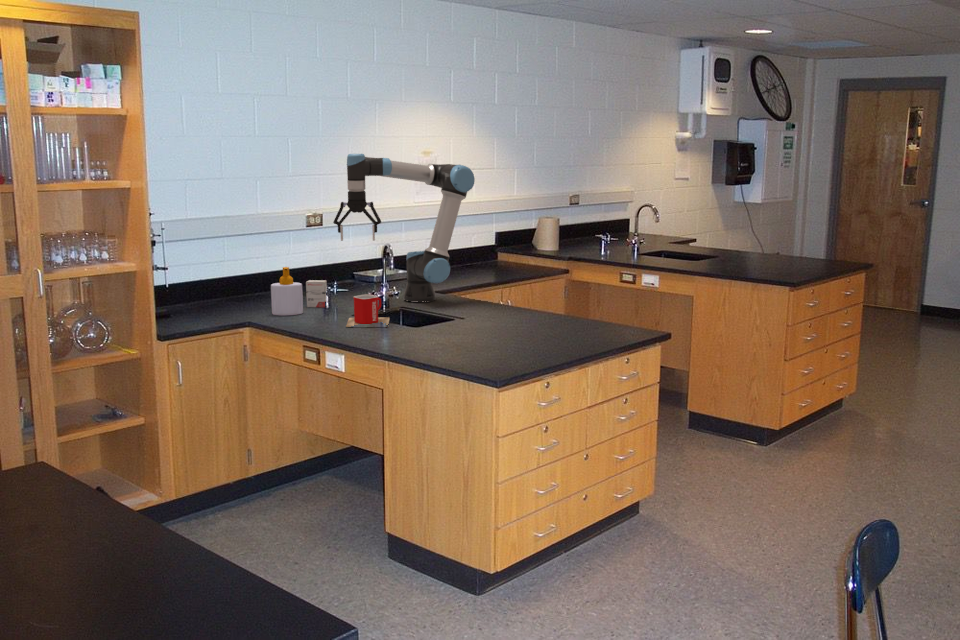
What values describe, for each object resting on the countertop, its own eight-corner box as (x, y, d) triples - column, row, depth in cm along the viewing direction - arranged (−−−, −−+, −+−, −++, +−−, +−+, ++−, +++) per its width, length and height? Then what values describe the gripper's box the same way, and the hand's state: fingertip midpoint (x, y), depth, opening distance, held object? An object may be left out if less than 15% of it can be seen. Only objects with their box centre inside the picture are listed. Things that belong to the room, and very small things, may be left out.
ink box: (328, 305, 424) (327, 280, 421) (325, 307, 419) (324, 281, 417) (309, 305, 425) (308, 279, 422) (306, 307, 420) (305, 281, 417)
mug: (364, 325, 380) (363, 299, 378) (352, 322, 386) (351, 296, 384) (387, 320, 388) (387, 295, 386) (375, 317, 394) (374, 293, 392)
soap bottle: (272, 316, 400) (269, 269, 396) (272, 312, 408) (270, 266, 404) (303, 315, 403) (301, 268, 399) (302, 311, 411) (301, 265, 407)
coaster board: (389, 318, 396) (389, 317, 396) (388, 327, 379) (388, 325, 379) (349, 319, 395) (349, 317, 395) (345, 327, 378) (345, 326, 378)
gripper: (386, 189, 402) (387, 239, 406) (327, 189, 400) (329, 239, 405) (385, 191, 394) (386, 241, 399) (326, 191, 393) (327, 241, 397)
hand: (357, 240), depth 402 cm, fingers open, 13 cm apart
